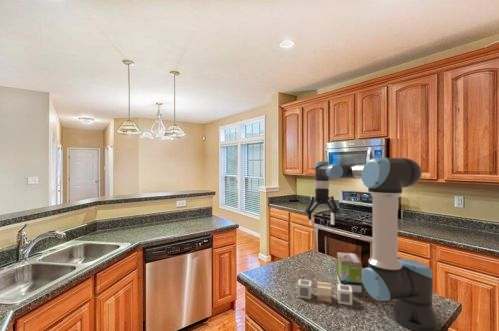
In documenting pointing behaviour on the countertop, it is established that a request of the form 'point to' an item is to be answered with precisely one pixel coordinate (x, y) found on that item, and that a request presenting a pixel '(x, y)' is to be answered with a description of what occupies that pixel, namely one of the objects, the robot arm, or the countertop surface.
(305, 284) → the labelled block
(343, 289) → the labelled block
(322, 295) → the plain block
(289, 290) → the countertop surface
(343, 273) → the tea box
